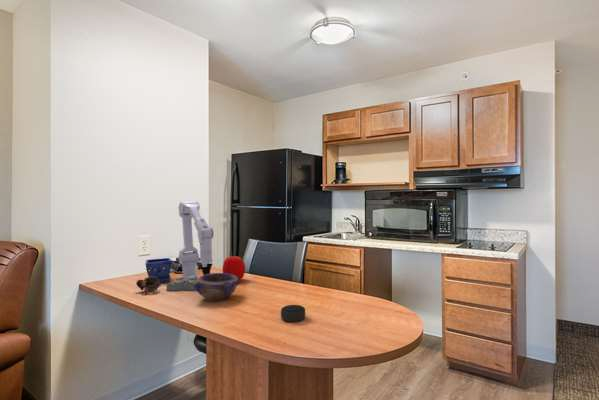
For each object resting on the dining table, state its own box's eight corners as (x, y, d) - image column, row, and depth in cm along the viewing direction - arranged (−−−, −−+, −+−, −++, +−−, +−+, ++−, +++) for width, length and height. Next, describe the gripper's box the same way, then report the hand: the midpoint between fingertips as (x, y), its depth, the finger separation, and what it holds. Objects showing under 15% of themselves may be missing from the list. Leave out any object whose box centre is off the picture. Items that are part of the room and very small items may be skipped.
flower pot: (145, 280, 194) (145, 259, 194) (170, 277, 200) (170, 257, 200) (146, 285, 182) (145, 262, 182) (172, 282, 188) (172, 260, 188)
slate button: (190, 284, 175) (190, 275, 175) (199, 284, 174) (198, 275, 174) (187, 286, 170) (187, 277, 170) (196, 286, 170) (195, 277, 170)
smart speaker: (291, 313, 131) (291, 302, 131) (310, 317, 125) (310, 306, 125) (276, 319, 124) (275, 308, 124) (294, 325, 118) (294, 313, 118)
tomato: (218, 282, 183) (217, 256, 183) (228, 278, 194) (228, 253, 194) (239, 283, 179) (238, 256, 179) (249, 278, 190) (248, 253, 190)
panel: (173, 286, 177) (173, 280, 177) (219, 286, 176) (218, 280, 176) (166, 290, 169) (166, 284, 169) (214, 290, 168) (214, 284, 168)
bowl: (228, 305, 143) (228, 281, 143) (189, 303, 146) (188, 280, 146) (244, 293, 160) (243, 272, 160) (208, 292, 164) (208, 271, 164)
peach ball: (177, 284, 175) (177, 275, 175) (185, 284, 175) (185, 275, 175) (173, 286, 171) (173, 277, 171) (182, 286, 170) (182, 277, 170)
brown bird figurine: (163, 289, 174) (164, 276, 171) (155, 302, 166) (155, 289, 162) (140, 284, 174) (140, 271, 170) (130, 297, 165) (130, 284, 162)
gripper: (199, 250, 179) (200, 276, 179) (195, 254, 164) (196, 282, 164) (213, 249, 180) (214, 275, 180) (210, 253, 165) (211, 281, 165)
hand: (206, 278), depth 172 cm, fingers closed
